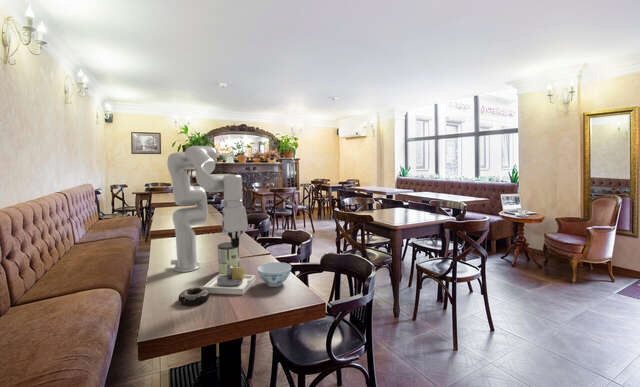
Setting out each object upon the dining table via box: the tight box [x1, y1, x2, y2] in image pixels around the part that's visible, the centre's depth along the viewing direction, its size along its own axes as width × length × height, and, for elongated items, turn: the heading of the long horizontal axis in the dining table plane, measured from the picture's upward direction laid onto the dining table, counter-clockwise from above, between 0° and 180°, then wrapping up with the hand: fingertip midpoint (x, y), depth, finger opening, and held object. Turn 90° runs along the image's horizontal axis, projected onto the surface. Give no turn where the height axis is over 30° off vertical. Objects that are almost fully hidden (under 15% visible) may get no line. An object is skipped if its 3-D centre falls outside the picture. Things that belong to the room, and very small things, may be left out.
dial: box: [217, 266, 246, 287], centre depth 144 cm, size 12×11×7 cm
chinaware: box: [257, 261, 292, 288], centre depth 147 cm, size 15×15×8 cm
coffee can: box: [217, 241, 240, 274], centre depth 163 cm, size 10×10×14 cm
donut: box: [177, 286, 211, 307], centre depth 131 cm, size 12×12×4 cm
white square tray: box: [202, 273, 257, 295], centre depth 145 cm, size 18×16×3 cm
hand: (235, 246), depth 139 cm, fingers closed
